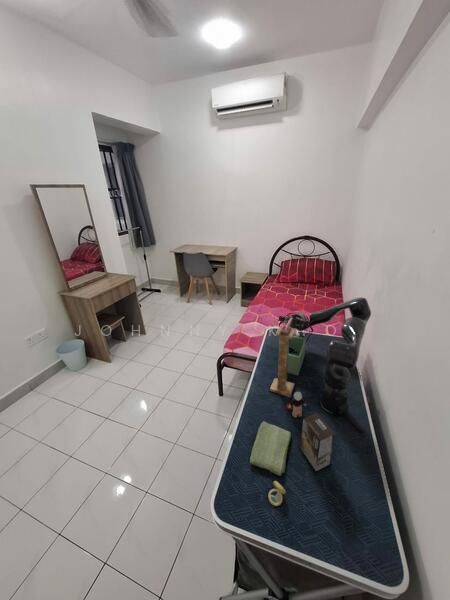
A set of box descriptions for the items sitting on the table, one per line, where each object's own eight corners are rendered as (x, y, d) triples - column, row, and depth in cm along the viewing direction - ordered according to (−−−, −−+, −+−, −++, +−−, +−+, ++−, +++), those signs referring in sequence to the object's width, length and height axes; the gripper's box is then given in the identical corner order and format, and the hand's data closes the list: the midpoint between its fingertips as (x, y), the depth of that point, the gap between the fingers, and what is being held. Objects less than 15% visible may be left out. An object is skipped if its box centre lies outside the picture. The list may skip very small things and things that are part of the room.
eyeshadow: (265, 497, 77) (265, 489, 75) (274, 485, 80) (275, 476, 78) (277, 509, 74) (277, 501, 72) (286, 495, 77) (286, 487, 75)
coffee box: (330, 464, 85) (336, 434, 78) (315, 471, 83) (320, 442, 76) (313, 441, 92) (317, 412, 86) (299, 447, 91) (302, 418, 84)
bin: (304, 355, 138) (306, 338, 133) (298, 375, 124) (299, 357, 119) (286, 351, 143) (287, 334, 137) (278, 370, 129) (278, 352, 124)
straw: (292, 320, 111) (292, 317, 111) (285, 334, 101) (285, 331, 100) (290, 319, 112) (290, 317, 111) (282, 333, 101) (282, 331, 101)
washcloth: (292, 434, 96) (292, 428, 94) (283, 479, 81) (283, 474, 80) (260, 423, 101) (260, 418, 99) (246, 464, 86) (246, 459, 85)
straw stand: (294, 385, 118) (299, 326, 103) (290, 397, 112) (295, 335, 97) (274, 379, 122) (276, 321, 107) (269, 390, 116) (271, 330, 101)
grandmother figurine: (300, 408, 106) (303, 387, 101) (306, 415, 103) (308, 393, 97) (285, 413, 104) (287, 392, 99) (290, 421, 101) (292, 399, 95)
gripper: (284, 312, 130) (277, 310, 115) (311, 316, 124) (308, 315, 109) (282, 325, 130) (275, 325, 115) (309, 331, 123) (305, 331, 109)
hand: (291, 320), depth 112 cm, fingers open, 8 cm apart
